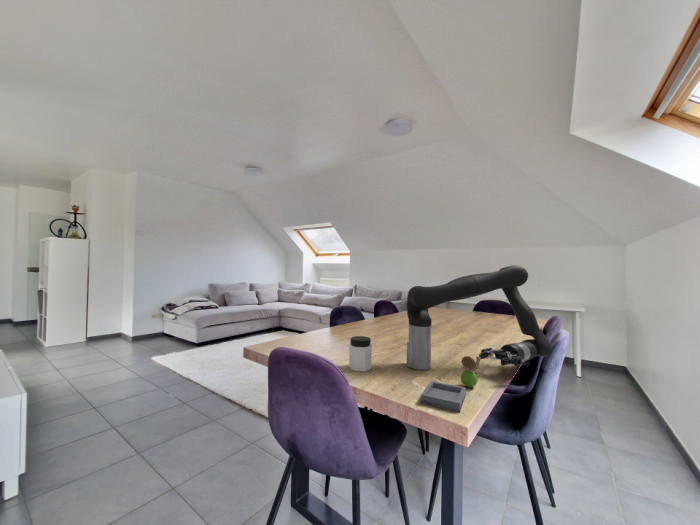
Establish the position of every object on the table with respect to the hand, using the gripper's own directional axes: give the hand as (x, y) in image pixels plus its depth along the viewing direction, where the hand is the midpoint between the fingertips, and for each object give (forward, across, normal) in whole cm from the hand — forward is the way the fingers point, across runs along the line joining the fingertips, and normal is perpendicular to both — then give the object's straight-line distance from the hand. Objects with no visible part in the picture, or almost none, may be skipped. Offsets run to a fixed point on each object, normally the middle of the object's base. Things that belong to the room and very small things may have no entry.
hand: (490, 359), depth 108 cm
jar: (+35, -34, +8) cm, 49 cm away
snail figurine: (+12, 0, +8) cm, 14 cm away
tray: (+28, +2, +8) cm, 29 cm away
